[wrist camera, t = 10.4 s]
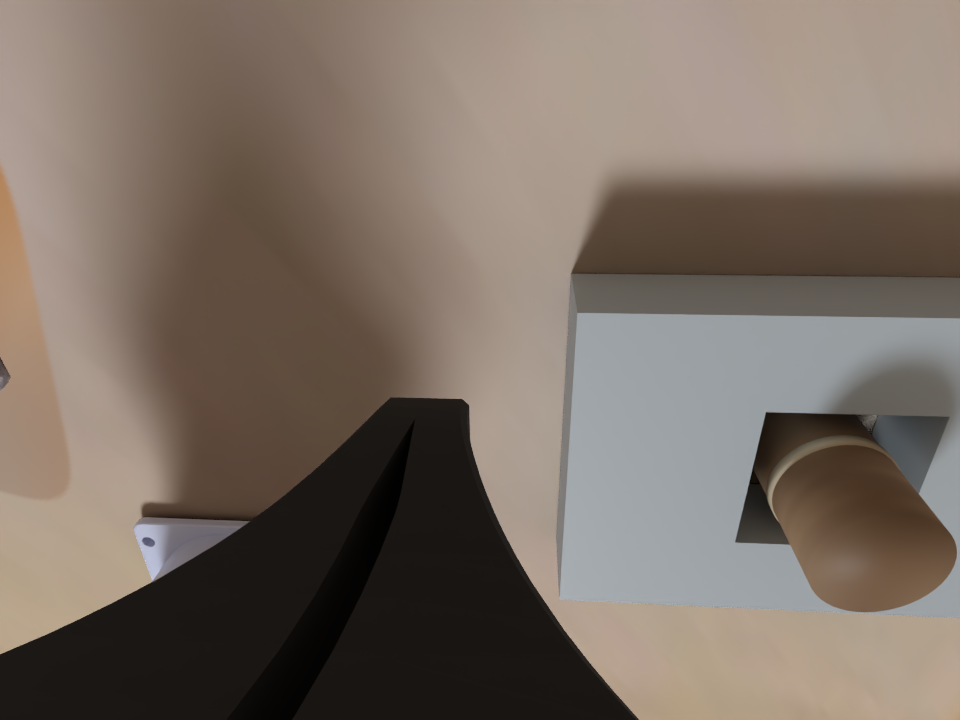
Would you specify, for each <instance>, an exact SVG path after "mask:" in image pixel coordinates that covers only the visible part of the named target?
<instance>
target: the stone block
mask: <svg viewBox="0 0 960 720" xmlns="http://www.w3.org/2000/svg"><path fill="white" fill-rule="evenodd" d="M9 379H10V375H9V373H8V371H7V370H6V368H5V366H4V364H3V362H2V360H1V358H0V390H2V389H3V388H4V387H5V385H6V384H7V383H8V381H9Z"/></svg>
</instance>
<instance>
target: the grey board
mask: <svg viewBox="0 0 960 720" xmlns="http://www.w3.org/2000/svg"><path fill="white" fill-rule="evenodd" d="M766 412H779V413H819V414H860V415H878V417H877V420H876V423H875V426H874V429H873V432H872V436H873V437H874V439H875V440H876V441H877V442H878V444H879V445H880V446H882V447H883V448H884V449H885V450H886V451H887V452H888V453H889V454H890V456H891V457H892V458H893V459H894V461H895V462H896V463H897V465H898V467H899V468H900V471H901V472H902V474H903V475H904V476H905V477H906V479H907V480H908V481H909V482H910V484H911V485H912V486H913V487H914V489H915V490H916V491H917V492H918V494H919V495H920V496H921V497H922V499H923V500H924V501H925V502H926V504H927V505H928V506H929V507H930V509H931V510H932V511H933V512H934V514H935V515H936V516H937V517H938V519H939V520H940V521H941V522H942V524H943V525H944V526H945V527H946V529H947V530H948V531H949V532H950V534H951V535H952V537H953V539H954V540H955V543H956V547H957V558H956V562H955V565H954V567H953V569H952V571H951V573H950V574H949V576H948V577H947V578H946V579H945V581H944V582H943V583H942V584H941V585H940V586H938V587H937V588H936V589H935V590H934V591H932V592H931V593H929V594H928V595H926V596H924V597H923V598H921V599H919V600H917V601H915V602H913V603H910V604H908V605H905V606H902V607H899V608H895V609H891V610H886V611H879V612H853V611H847V610H843V609H839V608H836V607H833V606H831V605H829V604H827V603H825V602H824V601H823V600H821V599H820V598H819V597H818V596H817V595H816V594H815V593H814V592H813V590H812V589H811V587H810V584H809V582H808V580H807V578H806V576H805V574H804V572H803V570H802V568H801V566H800V564H799V562H798V560H797V558H796V556H795V554H794V552H793V550H792V547H791V545H790V543H789V541H788V539H787V537H786V535H785V533H784V531H783V529H782V527H781V525H780V523H779V522H778V521H777V519H776V518H775V516H774V514H773V512H772V510H771V508H770V506H769V504H768V501H767V497H766V494H765V492H764V490H763V488H762V486H761V484H749V481H750V477H751V473H752V469H753V464H754V460H755V456H756V452H757V448H758V443H759V439H760V435H761V431H762V427H763V422H764V418H765V414H766ZM556 543H557V563H558V583H559V600H574V601H596V602H618V603H640V604H661V605H683V606H705V607H727V608H748V609H770V610H792V611H814V612H835V613H857V614H879V615H901V616H922V617H944V618H960V278H955V277H856V276H757V275H658V274H571V285H570V303H569V320H568V338H567V356H566V374H565V392H564V409H563V427H562V445H561V463H560V481H559V498H558V516H557V534H556Z"/></svg>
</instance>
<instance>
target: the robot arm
mask: <svg viewBox="0 0 960 720" xmlns="http://www.w3.org/2000/svg"><path fill="white" fill-rule="evenodd" d="M134 533H135V535H136V538H137V541H138V544H139V546H140V549H141V552H142V554H143V557H144V560H145V563H146V565H147V568H148V571H149V573H150V576H151V579H152V582H151V583H150V584H148V585H146V586H144V587H142V588H140V589H138V590H137V591H135V592H133V593H131V594H129V595H127V596H125V597H123V598H121V599H119V600H117V601H116V602H114V603H112V604H110V605H108V606H106V607H103V608H101V609H99V610H97V611H95V612H93V613H91V614H89V615H87V616H85V617H83V618H81V619H79V620H77V621H75V622H73V623H71V624H69V625H66V626H64V627H62V628H60V629H58V630H56V631H53V632H51V633H49V634H47V635H45V636H42V637H40V638H38V639H35V640H33V641H31V642H28V643H26V644H24V645H21V646H19V647H17V648H14V649H12V650H10V651H7V652H5V653H2V654H0V720H639V719H638V718H637V717H636V716H635V715H634V714H633V713H632V711H631V710H630V709H629V708H628V707H627V706H626V705H625V704H624V703H623V701H622V700H621V699H620V698H619V697H618V696H617V695H616V694H615V693H614V691H613V690H612V689H611V688H610V687H609V686H608V684H607V683H606V682H605V681H604V680H603V678H602V677H601V676H600V675H599V674H598V672H597V671H596V670H595V669H594V668H593V667H592V665H591V664H590V663H589V662H588V660H587V659H586V658H585V656H584V655H583V654H582V653H581V651H580V650H579V649H578V647H577V646H576V645H575V644H574V642H573V641H572V640H571V638H570V637H569V636H568V635H567V633H566V632H565V631H564V629H563V628H562V626H561V625H560V623H559V622H558V621H557V619H556V618H555V616H554V615H553V613H552V612H551V610H550V609H549V607H548V606H547V604H546V603H545V601H544V600H543V599H542V597H541V596H540V594H539V593H538V591H537V590H536V588H535V587H534V585H533V584H532V582H531V581H530V579H529V577H528V576H527V574H526V572H525V571H524V569H523V567H522V565H521V564H520V562H519V560H518V559H517V557H516V555H515V553H514V551H513V549H512V548H511V546H510V544H509V542H508V540H507V538H506V536H505V534H504V532H503V530H502V528H501V526H500V524H499V522H498V520H497V517H496V515H495V513H494V511H493V508H492V506H491V503H490V501H489V499H488V496H487V494H486V491H485V489H484V486H483V483H482V480H481V478H480V474H479V471H478V468H477V465H476V462H475V458H474V455H473V451H472V447H471V443H470V425H469V405H468V404H467V403H466V402H465V401H464V400H463V399H431V398H390V399H389V400H388V401H386V402H385V403H384V404H383V405H382V406H381V407H380V408H379V409H378V410H377V411H376V412H375V413H374V414H373V415H372V416H371V417H370V418H369V419H368V420H367V421H366V422H365V423H364V424H363V425H362V426H361V427H360V428H359V429H358V430H357V431H356V432H355V433H354V434H353V435H352V436H351V437H350V438H349V439H348V440H347V441H346V442H345V443H343V444H342V445H341V446H340V447H339V448H338V449H337V450H336V451H335V452H334V453H333V454H332V455H331V456H330V457H329V458H327V459H326V460H325V461H324V462H323V463H322V464H321V465H320V466H319V467H318V468H317V469H315V470H314V471H313V472H312V473H311V474H310V475H308V476H307V477H306V478H305V479H304V480H302V481H301V482H300V483H299V484H298V485H297V486H295V487H294V488H293V489H292V490H291V491H289V492H288V493H287V494H286V495H285V496H283V497H282V498H281V499H280V500H278V501H277V502H276V503H274V504H273V505H272V506H270V507H269V508H268V509H266V510H265V511H264V512H262V513H261V514H260V515H258V516H257V517H256V518H254V519H253V520H251V521H229V520H203V519H178V518H152V517H145V518H141V519H140V520H139V521H138V522H137V523H136V524H135V526H134Z"/></svg>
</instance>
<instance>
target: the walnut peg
mask: <svg viewBox="0 0 960 720" xmlns="http://www.w3.org/2000/svg"><path fill="white" fill-rule="evenodd" d="M753 469H754V471H755V473H756V475H757V477H758V480H759V482H760V484H761V486H762V488H763V490H764V492H765V494H766V497H767V501H768V504H769V506H770V508H771V510H772V512H773V514H774V516H775V518H776V519H777V521H778V522H779V523H780V525H781V527H782V529H783V531H784V533H785V535H786V537H787V539H788V541H789V543H790V545H791V547H792V550H793V552H794V554H795V556H796V558H797V560H798V562H799V564H800V566H801V568H802V570H803V572H804V574H805V576H806V578H807V580H808V582H809V584H810V587H811V589H812V590H813V592H814V593H815V594H816V595H817V596H818V597H819V598H820V599H821V600H823V601H824V602H825V603H827V604H829V605H831V606H833V607H836V608H839V609H843V610H847V611H853V612H879V611H886V610H891V609H895V608H899V607H902V606H905V605H908V604H910V603H913V602H915V601H917V600H919V599H921V598H923V597H924V596H926V595H928V594H929V593H931V592H932V591H934V590H935V589H936V588H937V587H938V586H940V585H941V584H942V583H943V582H944V581H945V579H946V578H947V577H948V576H949V574H950V573H951V571H952V569H953V567H954V565H955V562H956V558H957V547H956V543H955V540H954V539H953V537H952V535H951V534H950V532H949V531H948V530H947V529H946V527H945V526H944V525H943V524H942V522H941V521H940V520H939V519H938V517H937V516H936V515H935V514H934V512H933V511H932V510H931V509H930V507H929V506H928V505H927V504H926V502H925V501H924V500H923V499H922V497H921V496H920V495H919V494H918V492H917V491H916V490H915V489H914V487H913V486H912V485H911V484H910V482H909V481H908V480H907V479H906V477H905V476H904V475H903V474H902V472H901V471H900V468H899V467H898V465H897V463H896V462H895V461H894V459H893V458H892V457H891V456H890V454H889V453H888V452H887V451H886V450H885V449H884V448H883V447H882V446H880V445H879V444H878V442H877V441H876V440H875V439H874V437H873V436H872V435H871V434H870V432H869V431H868V430H867V429H866V427H865V426H864V425H863V424H862V422H861V421H860V420H859V419H858V417H857V416H856V415H855V414H819V413H779V412H766V414H765V418H764V422H763V427H762V431H761V435H760V439H759V443H758V448H757V452H756V456H755V460H754V464H753Z"/></svg>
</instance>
